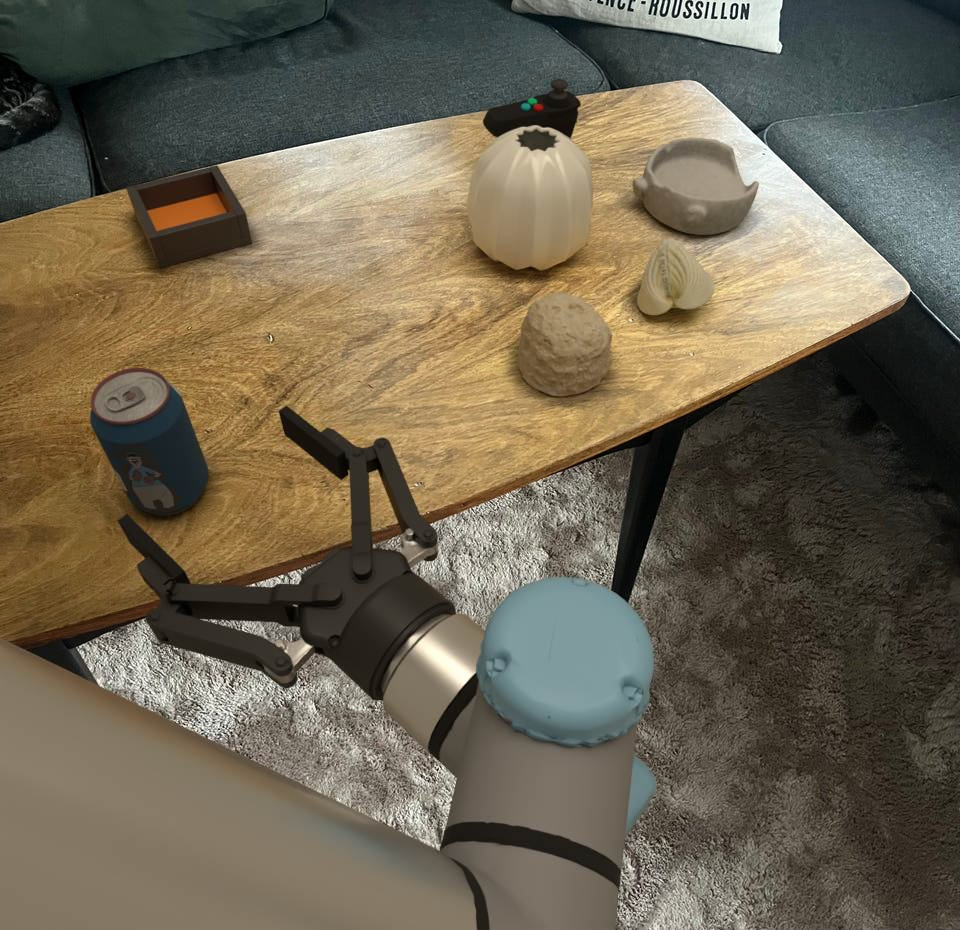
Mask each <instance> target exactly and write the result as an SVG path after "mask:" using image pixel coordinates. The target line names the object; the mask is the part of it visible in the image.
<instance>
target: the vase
mask: <svg viewBox="0 0 960 930" xmlns="http://www.w3.org/2000/svg"><path fill="white" fill-rule="evenodd" d="M474 165H475V166H474V168H473V171H472V173H471V178H470V183H469V187H468V193H467V200H466V203H467V204H466V213H467V219H468V223H469V225H470V226H471V236H472V241H473V243H474V244H475V245H476V246H477V247H478V248H479V249H481V251H482V252H483V253H484V254H485V255H487V257H489V258H490V259H491V260H492V261H494V262H501V263H502V264H504V265H506V266H507V267H509V268H511V269H513V270H515V271H519V270H522V269H526V268H529V267H531V268H533V269H535V270H538V271H541V272H542V271H545V270H548V269H549V268H552V267H554V266H556V265H558V264H561V263H564V262H565V261H567V260H569V259H570V258H571V257H573V256H574V255H575V254H576V253H577V252H579V251H580V250H581V249H582V248H583V247H585V246H586V244H587V242H588V239H589V236H590V232H591V226H592V212H593V211H592V210H593V205H594V179H593V178H594V177H593V169H592V165H591V162H590V160H589V157H588V155H587V154H586V153H585V152H584V151H583V150H582V149H581V148H580V147H579V146H578V145H576V143H575V142H574V140H572V138H571V139H570V138H569V137H567V136H565V135H564V134H562V133H561V132H559V131H557V130H555V129H552V128H549V127H547V128H542V127H541V126H538V125H533V126H529V127H520V128H517V129H514V130H511V131H509V132H507V133H505V134H503V135H501V136H499V137H495V138H494V139H493V140H492V141H491V142H490V145H489V147H488V148H486V149H485V150H484V151H483V152H481V154H480V156H479V158H478V160H477V161H476V162H475V164H474Z"/></svg>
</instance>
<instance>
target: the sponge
mask: <svg viewBox="0 0 960 930" xmlns="http://www.w3.org/2000/svg"><path fill="white" fill-rule="evenodd" d="M612 341H613V332H612V331H611V329H610V327H609V325H608V323H607V322H606V321H605V320H604V318H603V317H602V316H601V315H600V313H599V311H597V310H595V306H593V305H592V304H590V303H588V302H587V301H586V300H584V298H582V297H578V296H575V295H572V294H569V293H566V292H562V291H554V292H551V293H547V294H546V295H544V296H539V298H535V300H534V301H533V303H531V304H530V305H529V307H528V310H527V311H526V315H525V316H524V318H523V321H522V324H521V326H520V337H519V344H518V355H517V368H518V370H519V372H520V373H521V375H522V378H523V379H524V381H525V382H526V384H528V385H529V386H530V387H532V388H533V389H535V390H536V391H538V392H542V393H544V394H547V395H549V396H552V397H567V396H573V395H578V394H582V393H585V392H587V391H589V390H591V389H593V388H595V387H597V386H598V385H600V383H601V381H602V379H603V378H605V377H606V376H607V374H608V369H609V366H610V357H611V351H612V350H611V348H612Z"/></svg>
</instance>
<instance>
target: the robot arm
mask: <svg viewBox="0 0 960 930" xmlns="http://www.w3.org/2000/svg"><path fill="white" fill-rule="evenodd" d="M278 415H279V418H280V422H281V426H282V430H283V434H284V436H285V437H287V439H290V441H292V442H293V443H294V444H295V445H297V446H298V447H299V448H300V449H302V450H303V451H304V452H305V453H306V454H308V455H309V456H310V457H311V458H313V459H314V460H315V461H316V462H318V463H319V464H320V465H321V466H322V467H324V468H325V469H326V470H327V471H329V472H330V473H331V474H333V476H335V477H336V478H337V479H339V480H340V481H343V480H344V479H345V478H346V477H348V476H349V494H350V516H351V517H350V518H351V524H350V533H351V536H350V537H351V545H345V546H342V547H338V546H337V545H336V546H335V547H334V548H333V549H331V550H330V551H329V552H328V553H327V554H326V555H325V557H324V558H323V559H322V560H321V562H319V563H317V564H316V565H313V566H311V567H309V568H308V569H307V570H305V571H304V572H302V574H300V578H301V579H300V580H299V583H277V584H275V585H274V586H253V585H228V584H227V585H226V584H205V583H192V582H191V580H190V579H189V577H188V574H187V573H186V570H185V569H183V568H182V567H181V565H180V564H178V563H177V562H176V560H175V559H173V558H172V556H171V555H170V554H168V553H167V551H165V549H164V548H162V547H161V545H160V544H158V543H157V541H155V540H154V538H152V537H151V536H150V535H149V534H148V532H146V531H145V529H143V528H142V527H141V526H140V524H138V523H137V521H135V520H134V519H133V518H132V517H131V515H129V514H128V513H126V514H125V515H123V516H122V517H120V518H119V519H117V523H118V524H119V527H120V528H121V530H122V532H123V534H124V535H125V537H126V539H127V541H128V542H129V544H130V545H131V546H132V547H133V548H134V549H135V550H136V551H137V552H138V553H139V554H140V555H141V556H142V557H143V558H144V559H142V560H141V561H140V562H137V564H136V568H137V572H138V573H139V575H140V576H141V578H142V579H143V582H144V583H145V584H146V586H148V587H149V588H150V589H151V590H152V591H153V592H154V593H155V595H156V596H158V597H159V599H160V602H159V604H158V605H157V607H155V608H152V609H150V610H149V611H148V612H147V613H146V615H145V622H146V623H147V625H148V627H149V629H150V630H151V632H152V634H153V635H154V637H155V638H156V640H157V641H158V642H159V643H160V644H163V645H167V646H171V647H174V648H176V649H177V648H178V649H181V650H185V651H187V652H188V651H189V652H192V653H195V654H199V655H202V656H205V657H209V658H212V659H215V660H218V661H219V660H220V661H223V662H227V663H230V664H233V665H237V666H241V667H244V668H247V669H251V670H255V671H258V672H261V673H262V674H264V675H265V676H266V677H268V678H269V679H270V680H271V681H273V682H274V683H276V684H277V685H278V686H279V687H281V688H282V689H291V688H293V687H294V686H295V685H296V684H297V682H298V674H297V673H298V672H299V670H300V669H301V668H302V667H303V666H305V664H306V663H307V662H308V661H309V660H310V659H311V658H312V656H314V654H316V655H320V656H323V657H326V658H327V659H329V660H330V661H331V662H332V663H333V664H335V665H336V667H338V669H340V670H341V671H342V672H343V673H344V674H345V675H346V676H347V677H348V678H349V679H350V680H351V681H352V682H353V683H354V684H355V685H356V686H358V687H359V688H360V690H361V691H363V692H364V693H365V694H366V695H367V696H368V697H369V698H370V699H372V700H373V701H375V702H376V701H379V702H382V707H383V711H384V712H385V713H386V714H387V715H388V716H389V717H390V718H391V719H393V721H394V722H395V723H397V724H398V725H399V726H400V727H401V728H402V729H403V730H404V731H405V732H406V733H407V734H408V735H409V736H411V738H413V740H415V741H416V743H418V744H419V745H420V746H421V748H423V749H424V750H425V751H426V752H427V753H428V754H430V755H431V756H432V757H433V758H435V759H436V760H437V761H438V762H439V763H440V764H441V765H442V767H444V768H445V769H446V770H447V771H448V772H449V773H450V774H451V775H453V777H455V778H456V780H455V783H454V784H455V785H454V788H453V794H452V798H451V803H450V807H449V811H448V815H447V819H446V824H445V828H444V831H443V834H442V839H441V843H440V846H439V849H438V848H435V847H433V846H431V845H429V844H427V843H425V842H422V841H420V840H418V839H416V838H414V837H413V836H410V835H409V834H406V833H404V832H403V831H400V830H398V829H396V828H394V827H391V826H389V825H387V824H386V823H383V822H382V821H380V820H377V819H375V818H373V817H371V816H369V815H367V814H365V813H363V812H361V811H360V810H357V809H354V808H353V807H350V806H349V805H346V804H344V803H342V802H340V801H338V800H336V799H334V798H332V797H330V796H328V795H326V794H324V793H321V792H319V791H317V790H315V789H313V788H312V787H309V786H307V785H305V784H303V783H301V782H299V781H297V780H295V779H293V778H290V777H288V776H286V775H284V774H282V773H280V772H278V771H276V770H274V769H272V768H270V767H268V766H266V765H264V764H262V763H259V762H257V761H256V760H254V759H251V758H250V757H248V756H245V755H243V754H241V753H239V752H237V751H235V750H233V749H231V748H229V747H226V746H224V745H223V744H220V743H218V742H216V741H214V740H212V739H210V738H208V737H206V736H204V735H201V734H200V733H198V732H196V731H194V730H192V729H189V728H187V727H185V726H183V725H181V724H179V723H177V722H175V721H173V720H171V719H169V718H167V717H165V716H163V715H161V714H159V713H156V712H154V711H152V710H150V709H148V708H146V707H144V706H141V705H140V704H138V703H136V702H134V701H131V700H129V699H127V698H126V697H123V696H122V695H119V694H117V693H115V692H113V691H111V690H109V689H107V688H104V687H102V686H101V685H99V684H97V683H94V682H92V681H90V680H88V679H86V678H84V677H82V676H80V675H78V674H76V673H74V672H72V671H70V670H67V669H65V668H63V667H61V666H59V665H58V664H55V663H53V662H51V661H49V660H47V659H44V658H43V657H41V656H39V655H36V654H34V653H32V652H31V651H28V650H26V649H24V648H22V647H21V646H19V645H16V644H14V643H12V642H10V641H8V640H5V639H4V638H1V637H0V930H616V927H617V915H618V907H619V897H620V896H619V894H620V886H621V878H622V868H623V859H624V851H625V841H626V837H627V836H628V835H629V833H630V832H631V830H632V829H633V827H634V826H635V825H636V823H637V821H639V819H640V817H641V816H642V815H643V813H644V811H645V810H646V809H647V808H648V806H649V804H650V803H651V801H652V800H653V798H654V796H655V794H656V792H657V789H658V788H657V778H656V776H655V774H654V773H653V772H652V771H653V770H651V769H650V768H649V767H648V766H647V765H646V764H645V763H644V762H643V761H642V760H641V759H640V758H638V756H637V755H636V754H635V746H636V739H637V738H636V737H637V731H638V725H639V722H640V721H641V718H642V715H643V714H644V713H645V712H646V711H647V710H648V707H649V703H650V687H651V683H652V681H653V680H652V679H653V677H654V676H653V675H654V669H655V655H654V648H653V647H654V646H653V642H652V639H651V637H650V634H649V631H648V629H647V627H646V625H645V624H644V623H645V622H643V619H642V618H641V616H640V615H639V614H638V613H637V612H636V611H635V609H634V608H633V607H632V606H631V605H630V604H629V603H628V602H627V601H626V600H625V599H624V598H623V597H621V596H620V595H619V594H618V593H616V592H614V591H613V590H612V589H609V588H607V587H606V586H605V585H601V584H599V583H596V582H594V581H590V580H587V579H585V578H580V577H569V576H552V577H546V578H545V577H544V578H540V579H537V580H533V581H530V582H528V583H526V584H524V585H522V586H520V587H518V588H517V589H514V590H513V591H512V592H511V593H509V594H508V595H507V596H506V597H505V598H504V599H502V601H501V602H499V604H498V605H497V607H496V608H495V609H494V611H492V613H491V616H490V617H489V620H488V622H487V624H486V627H485V629H484V628H483V627H482V626H480V625H479V624H478V623H477V622H476V621H475V620H473V619H472V618H471V617H470V616H468V615H467V614H466V613H462V612H461V613H460V612H459V613H457V612H456V611H457V610H456V606H455V605H454V603H453V602H451V601H450V600H449V599H448V598H446V597H445V596H444V595H443V594H442V593H441V592H440V591H438V590H437V589H436V588H434V586H432V585H431V584H430V583H428V582H427V581H426V580H425V579H424V578H422V577H421V576H420V575H418V574H416V573H415V572H414V571H413V570H412V568H413V567H415V566H416V565H418V564H419V563H420V562H422V561H425V562H429V563H430V562H433V561H436V560H437V559H438V556H439V543H438V541H439V539H438V531H437V530H436V529H435V528H434V527H433V526H432V525H431V524H430V522H428V521H427V519H426V518H424V516H422V515H421V514H420V511H419V509H418V507H417V504H416V501H415V500H414V496H413V495H412V492H411V489H410V487H409V484H408V482H407V480H406V478H405V475H404V473H403V471H402V468H401V466H400V463H399V461H398V458H397V455H396V454H395V452H394V449H393V446H392V444H391V441H390V440H389V439H388V438H386V437H379V438H376V439H375V440H374V442H373V444H372V445H369V446H367V447H361V446H356V445H355V444H353V443H352V442H351V441H350V440H348V439H347V438H346V437H345V436H343V435H342V434H340V432H338V431H337V430H336V429H334V428H331V427H327V426H326V428H324V429H322V431H320V430H319V429H318V428H316V427H315V426H313V425H312V424H311V423H310V422H308V421H307V420H306V419H305V418H303V417H302V416H300V415H299V414H298V413H297V412H296V411H294V410H293V409H292V408H290V407H289V406H288V405H285V406H284V407H282V408H280V409H279V410H278ZM375 471H377V473H378V475H379V478H380V480H381V482H382V485H383V487H384V490H385V493H386V495H387V498H388V500H389V503H390V505H391V508H392V510H393V512H394V516H395V518H396V520H397V523H398V526H399V528H400V530H401V533H402V534H401V536H400V539H401V541H400V542H401V551H399V550H396V549H395V550H394V549H387V548H386V549H385V548H375V547H374V542H373V528H372V526H373V525H372V509H371V492H370V473H372V472H375ZM208 620H209V621H208ZM212 621H234V622H253V623H254V622H255V623H256V622H257V623H258V622H259V623H275V624H278V625H280V626H282V627H286V628H287V627H289V628H299V634H300V638H299V639H298V640H295V641H289V640H285V639H282V638H278V639H275V640H274V642H272V641H271V640H270V639H267V638H265V637H263V636H260V635H257V634H255V633H251V632H247V631H243V630H240V629H237V628H234V627H229V626H226V625H222V624H218V623H215V622H212Z"/></svg>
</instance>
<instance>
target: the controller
mask: <svg viewBox="0 0 960 930" xmlns="http://www.w3.org/2000/svg"><path fill="white" fill-rule="evenodd" d="M550 88H552V89H551V90H550V91H548V92H547V93H543V94H538V95H535V96H534V97H531V98H529V99H525V100H521V101H517V102H513V103H507V104H505V105H500V106H495V107H491V108H489V109H488V110H486V113H485V115H484V117H483V119H482V124H483V126H484V128H485V130H487V132H488V133H489V134H491V136H492V137H495V138H497V137H499V136H501V135H503V134H505V133H507V132H509V131H511V130H514V129H517V128H520V127H529V126H533V125H538V126H541V127H542V128H547V127H549V128H552V129H555V130H557V131H559V132H561V133H562V134H564V135H565V136H567V137H569V138H570V139H571V140H572V136H573V134H574V131H575V128H576V127H575V126H576V124H577V122H578V118H579V108H580V107H581V106H582V102H581V101H580V99H579V98H578V97H577V96H575V94H573V93H572V92H570V91H567V90H566V89H568V88H569V82H568V80H565V79H562V78H555V79H553V80H551V82H550Z"/></svg>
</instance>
